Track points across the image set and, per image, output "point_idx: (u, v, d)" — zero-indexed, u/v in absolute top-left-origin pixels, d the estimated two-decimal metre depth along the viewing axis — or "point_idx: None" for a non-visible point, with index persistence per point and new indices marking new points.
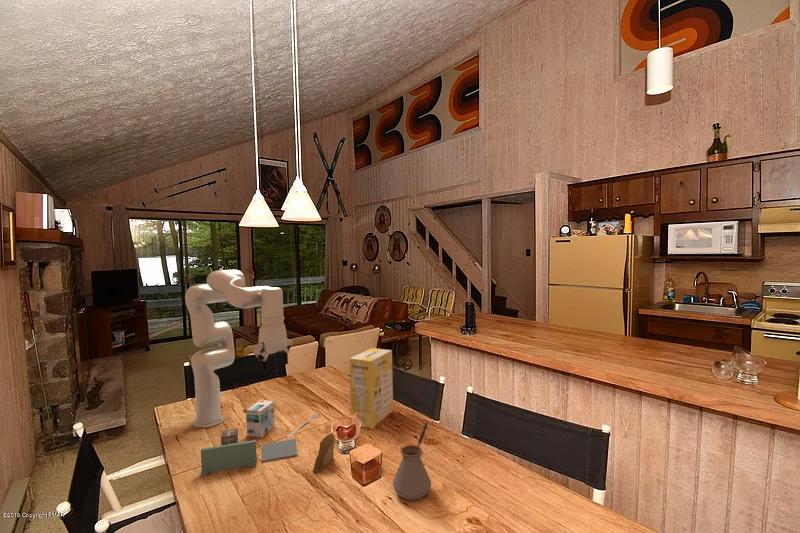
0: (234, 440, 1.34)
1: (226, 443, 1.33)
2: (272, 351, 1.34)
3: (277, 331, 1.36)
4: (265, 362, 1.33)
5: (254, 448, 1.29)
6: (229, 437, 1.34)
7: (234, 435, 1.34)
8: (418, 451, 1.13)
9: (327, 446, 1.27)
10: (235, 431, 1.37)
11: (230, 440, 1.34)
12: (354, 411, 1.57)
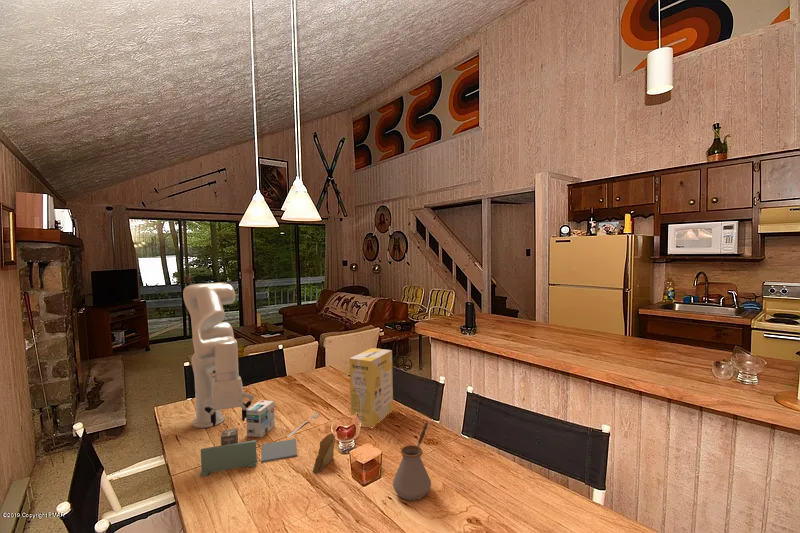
0: (234, 440, 1.34)
1: (226, 443, 1.33)
2: None
3: None
4: None
5: (254, 448, 1.29)
6: (229, 437, 1.34)
7: (234, 435, 1.34)
8: (418, 451, 1.13)
9: (327, 446, 1.27)
10: (235, 431, 1.37)
11: (230, 440, 1.34)
12: (354, 411, 1.57)
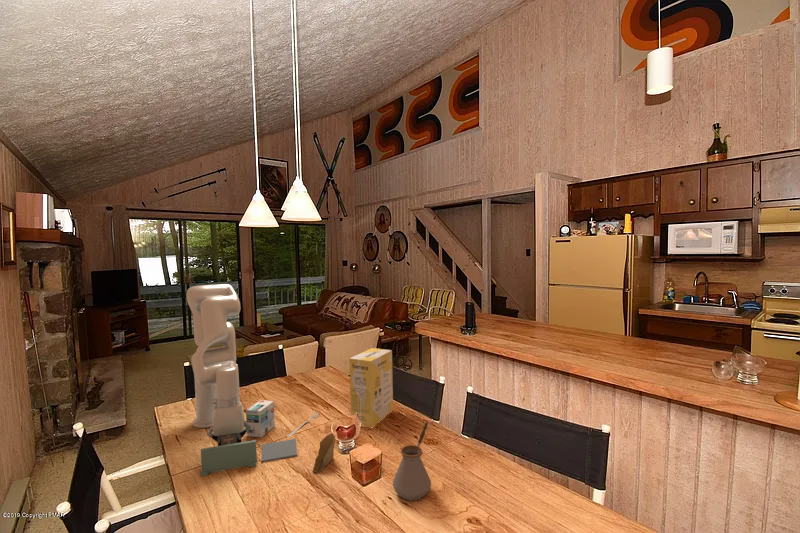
0: (234, 440, 1.34)
1: (226, 443, 1.33)
2: None
3: None
4: None
5: (254, 448, 1.29)
6: (229, 437, 1.34)
7: (234, 435, 1.34)
8: (418, 451, 1.13)
9: (327, 446, 1.27)
10: None
11: (230, 440, 1.34)
12: (354, 411, 1.57)
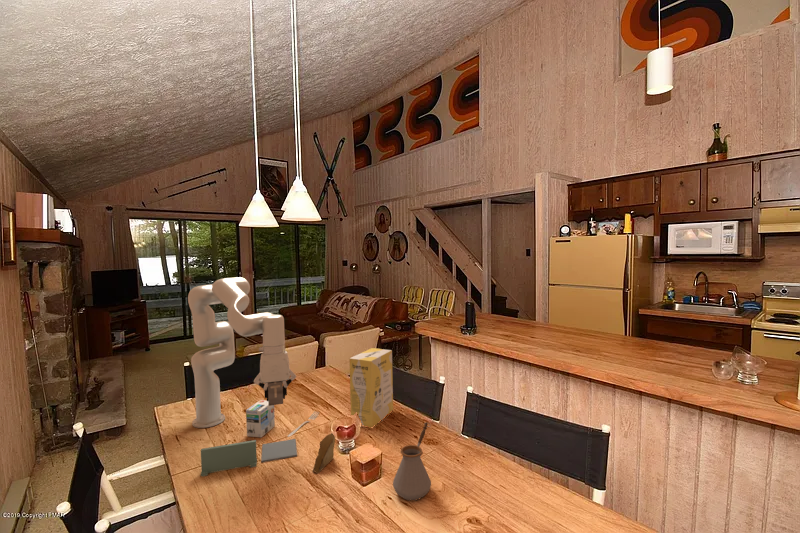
0: (280, 387, 1.35)
1: (273, 390, 1.34)
2: None
3: None
4: None
5: (254, 448, 1.29)
6: (276, 384, 1.34)
7: (280, 382, 1.35)
8: (418, 451, 1.13)
9: (327, 446, 1.27)
10: None
11: (276, 387, 1.34)
12: (354, 411, 1.57)
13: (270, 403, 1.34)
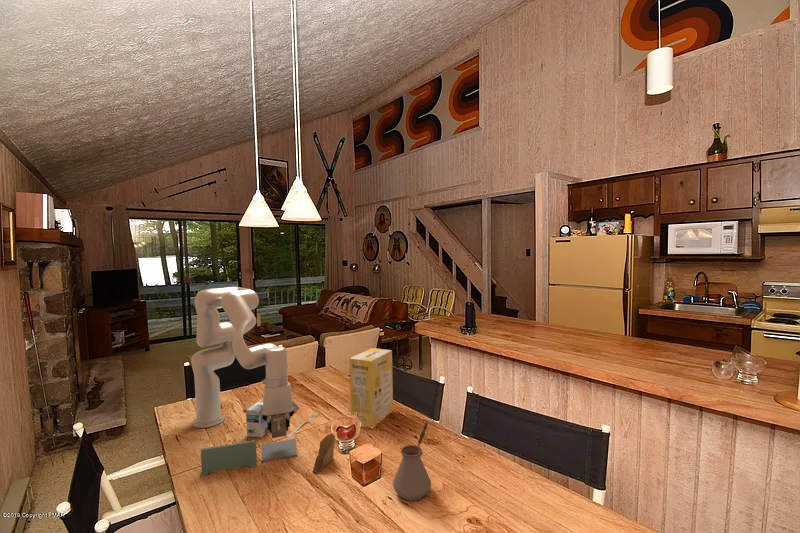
0: (284, 420, 1.35)
1: (276, 422, 1.34)
2: None
3: None
4: None
5: (254, 448, 1.29)
6: (279, 417, 1.35)
7: (284, 415, 1.35)
8: (418, 451, 1.13)
9: (327, 446, 1.27)
10: None
11: (279, 419, 1.35)
12: (354, 411, 1.57)
13: (273, 435, 1.34)
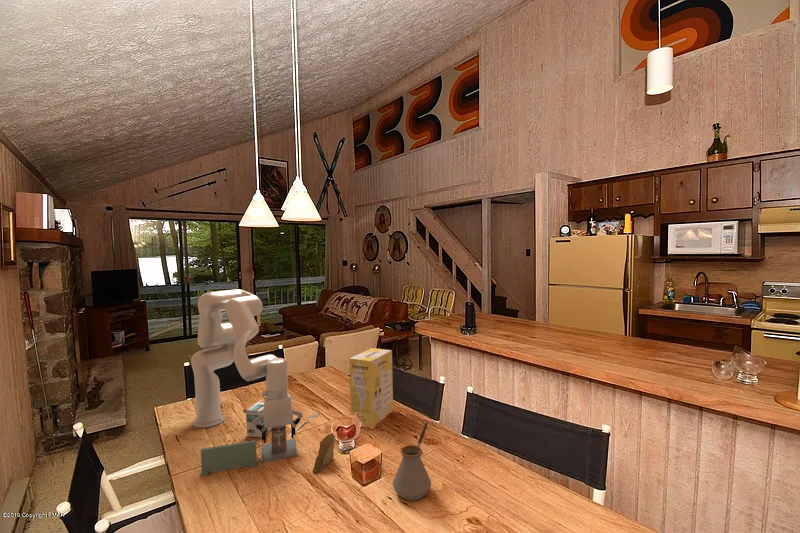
0: (284, 435, 1.36)
1: (276, 438, 1.35)
2: None
3: None
4: None
5: (254, 448, 1.29)
6: (279, 432, 1.35)
7: (284, 430, 1.36)
8: (418, 451, 1.13)
9: (327, 446, 1.27)
10: (284, 426, 1.38)
11: (280, 435, 1.35)
12: (354, 411, 1.57)
13: (273, 451, 1.35)
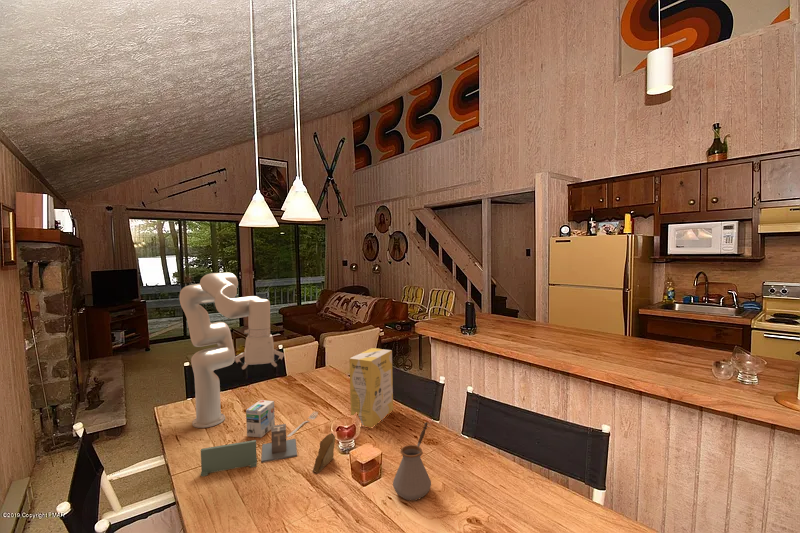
0: (284, 435, 1.36)
1: (276, 438, 1.35)
2: None
3: None
4: None
5: (254, 448, 1.29)
6: (279, 432, 1.35)
7: (284, 430, 1.36)
8: (418, 451, 1.13)
9: (327, 446, 1.27)
10: (284, 426, 1.38)
11: (280, 435, 1.35)
12: (354, 411, 1.57)
13: (273, 451, 1.35)
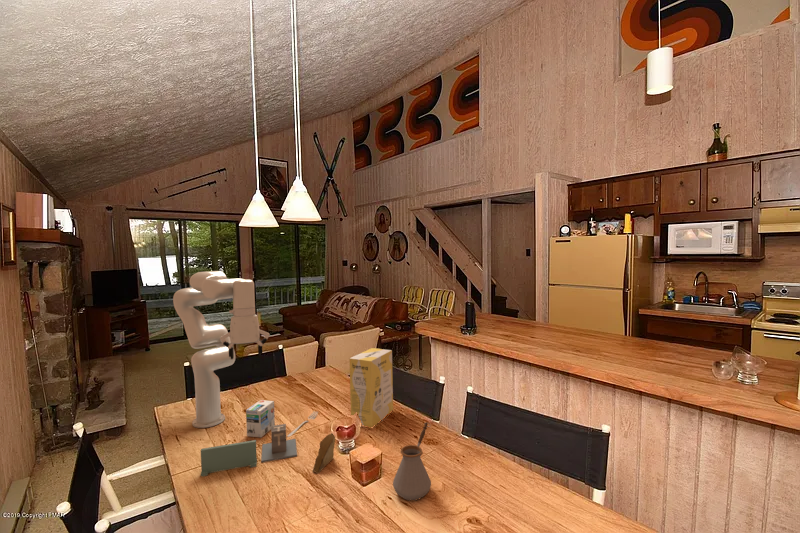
0: (284, 435, 1.36)
1: (276, 438, 1.35)
2: None
3: None
4: None
5: (254, 448, 1.29)
6: (279, 432, 1.35)
7: (284, 430, 1.36)
8: (418, 451, 1.13)
9: (327, 446, 1.27)
10: (284, 426, 1.38)
11: (280, 435, 1.35)
12: (354, 411, 1.57)
13: (273, 451, 1.35)
